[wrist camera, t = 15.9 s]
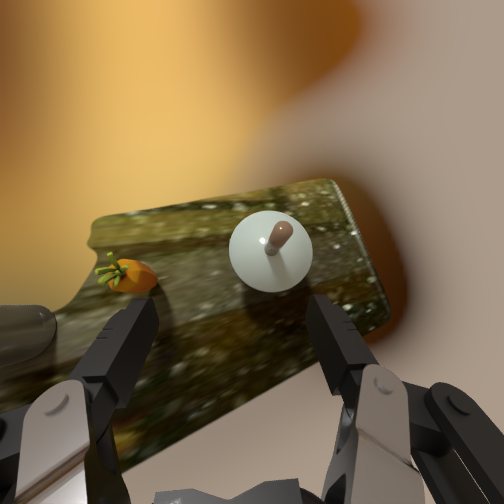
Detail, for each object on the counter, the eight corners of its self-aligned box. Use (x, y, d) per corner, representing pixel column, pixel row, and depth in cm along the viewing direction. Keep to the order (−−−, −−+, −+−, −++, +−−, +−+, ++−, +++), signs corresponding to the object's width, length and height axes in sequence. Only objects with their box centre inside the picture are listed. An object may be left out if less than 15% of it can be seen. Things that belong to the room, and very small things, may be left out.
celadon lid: (244, 304, 31) (247, 304, 21) (219, 225, 34) (212, 194, 24) (322, 277, 33) (358, 266, 23) (292, 205, 36) (312, 169, 26)
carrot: (151, 265, 38) (98, 242, 23) (173, 277, 38) (132, 261, 23) (135, 287, 37) (69, 277, 22) (157, 300, 36) (105, 298, 22)
